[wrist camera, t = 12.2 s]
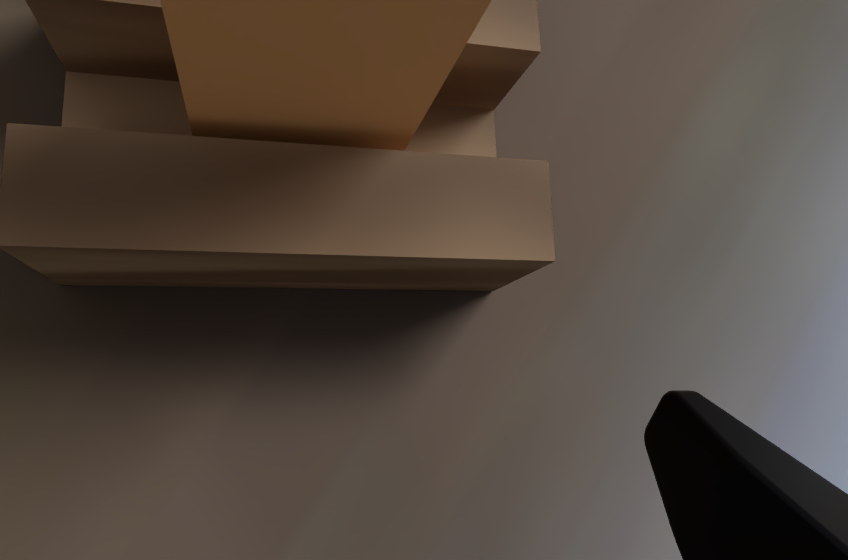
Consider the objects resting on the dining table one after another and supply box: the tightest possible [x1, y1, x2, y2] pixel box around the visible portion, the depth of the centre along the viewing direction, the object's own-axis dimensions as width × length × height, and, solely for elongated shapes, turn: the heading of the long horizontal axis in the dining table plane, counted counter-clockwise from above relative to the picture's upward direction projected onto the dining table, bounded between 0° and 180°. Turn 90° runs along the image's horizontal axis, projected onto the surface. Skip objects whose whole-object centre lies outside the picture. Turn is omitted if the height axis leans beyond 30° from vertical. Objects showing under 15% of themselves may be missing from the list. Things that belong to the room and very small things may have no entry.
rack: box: [0, 0, 555, 291], centre depth 20 cm, size 16×14×5 cm
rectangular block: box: [160, 0, 491, 151], centre depth 15 cm, size 2×6×12 cm, turn 93°
